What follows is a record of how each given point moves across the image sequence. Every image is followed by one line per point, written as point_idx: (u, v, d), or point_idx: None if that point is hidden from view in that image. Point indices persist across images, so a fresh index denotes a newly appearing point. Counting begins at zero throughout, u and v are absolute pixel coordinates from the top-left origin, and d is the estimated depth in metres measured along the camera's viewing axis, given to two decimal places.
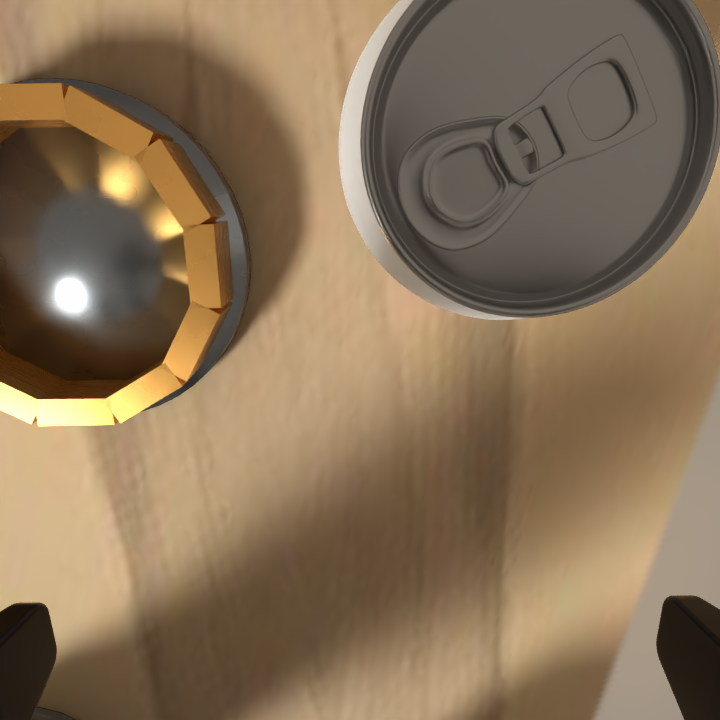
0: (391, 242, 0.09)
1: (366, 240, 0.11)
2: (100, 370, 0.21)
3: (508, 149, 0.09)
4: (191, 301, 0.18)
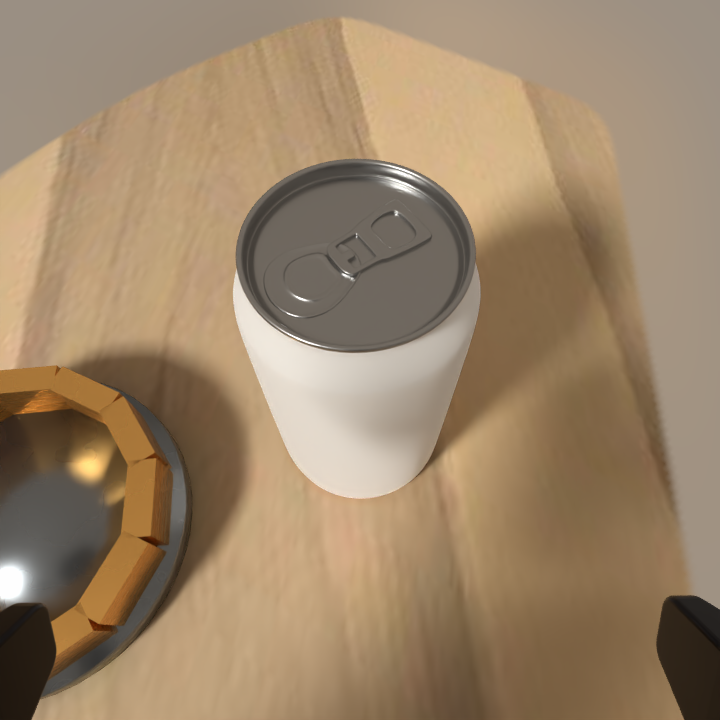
0: (256, 307, 0.12)
1: (250, 344, 0.14)
2: None
3: (338, 258, 0.13)
4: (122, 531, 0.19)
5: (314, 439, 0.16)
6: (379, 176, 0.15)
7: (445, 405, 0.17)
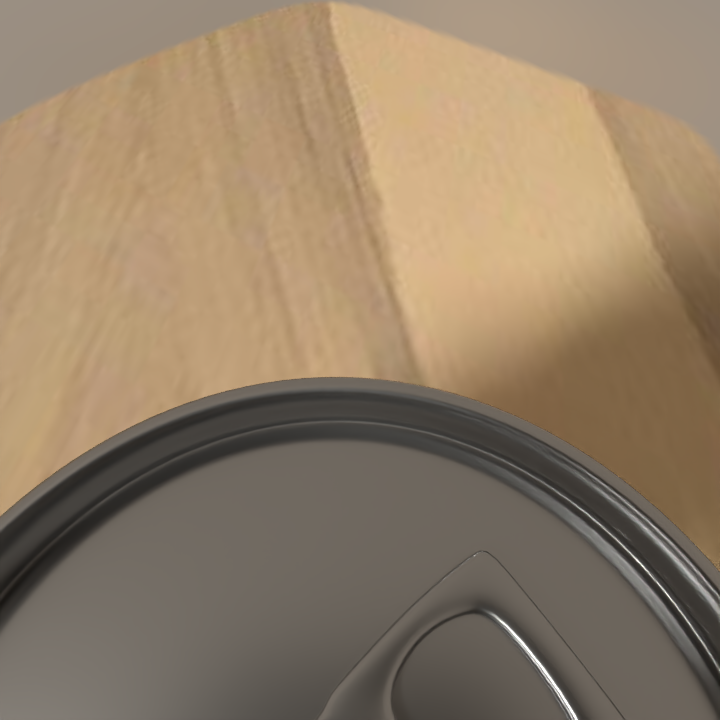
0: None
1: None
2: None
3: None
4: None
5: None
6: (414, 427, 0.04)
7: None
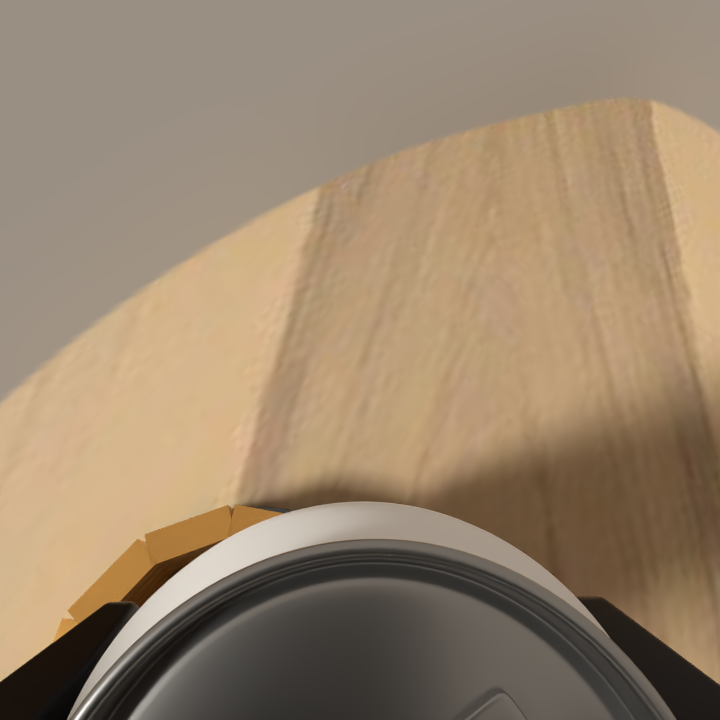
0: None
1: None
2: None
3: None
4: None
5: None
6: (451, 571, 0.05)
7: None
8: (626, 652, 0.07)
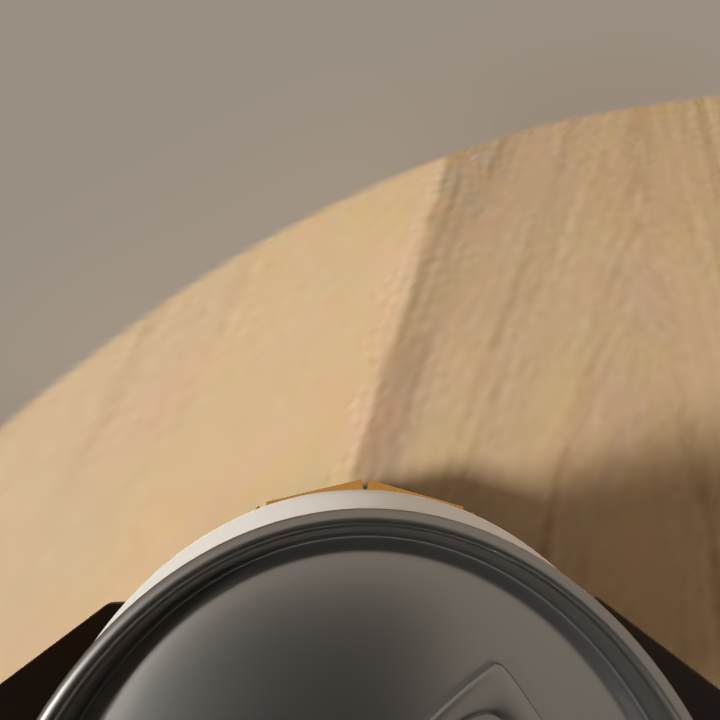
0: None
1: None
2: None
3: None
4: None
5: None
6: (445, 545, 0.05)
7: None
8: None
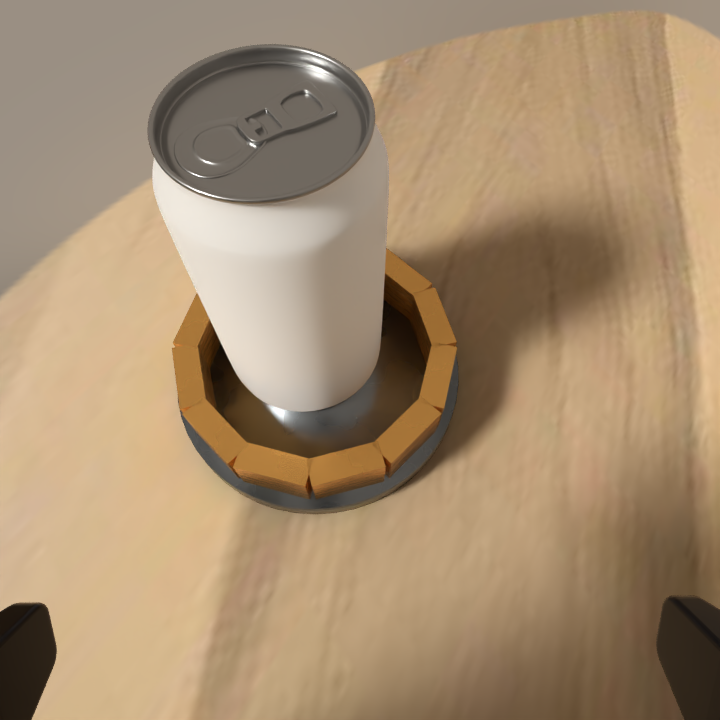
0: (162, 165, 0.13)
1: (164, 212, 0.14)
2: None
3: (247, 129, 0.14)
4: (420, 396, 0.21)
5: (238, 325, 0.17)
6: (294, 63, 0.15)
7: (366, 297, 0.18)
8: None
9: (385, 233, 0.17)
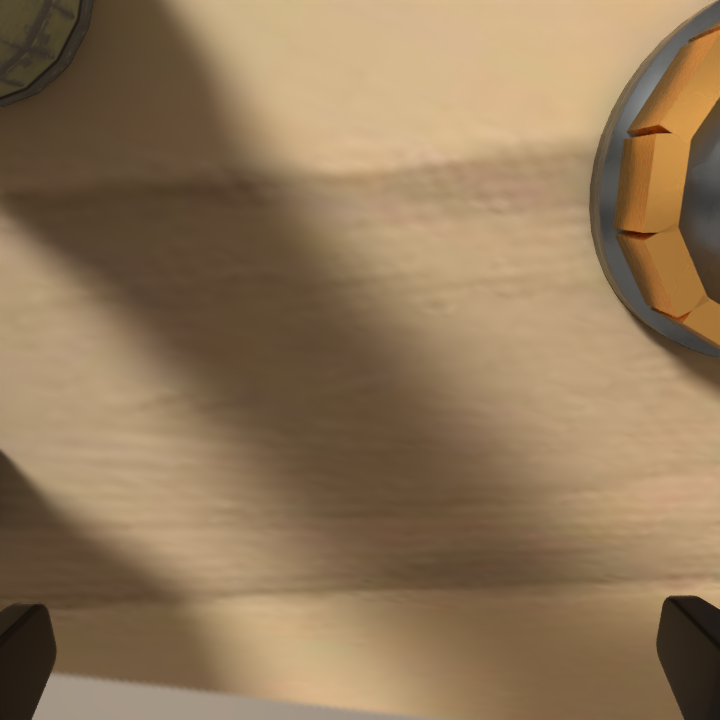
0: None
1: None
2: None
3: None
4: None
5: None
6: None
7: None
8: None
9: None
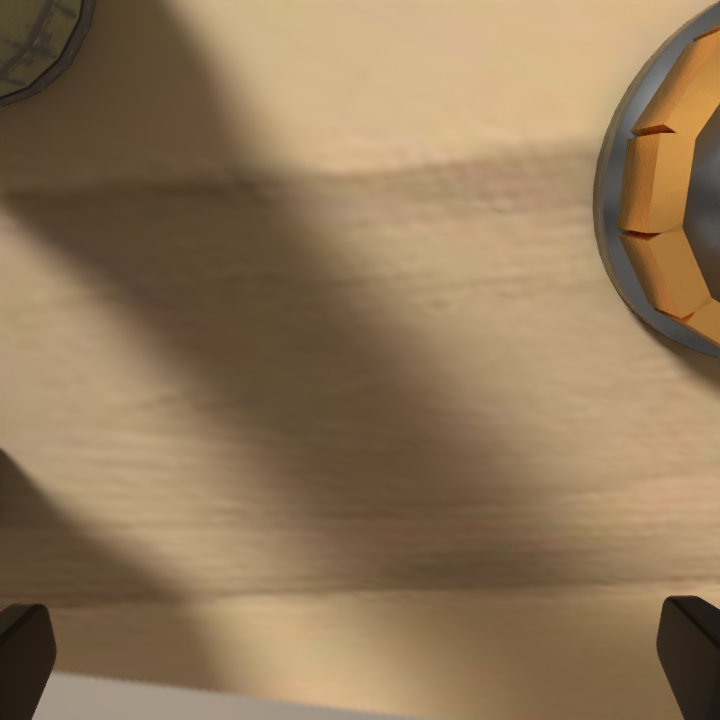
0: None
1: None
2: None
3: None
4: None
5: None
6: None
7: None
8: None
9: None
